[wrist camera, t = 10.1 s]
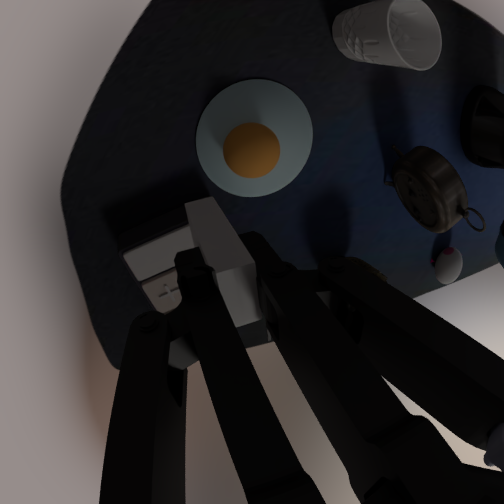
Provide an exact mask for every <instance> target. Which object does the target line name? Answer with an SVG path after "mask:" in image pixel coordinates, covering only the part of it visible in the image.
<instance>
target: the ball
mask: <svg viewBox="0 0 504 504" xmlns="http://www.w3.org/2000/svg"><path fill="white" fill-rule="evenodd" d="M223 156H224V159H225V162H226V164H227V165H228V167H229V168H230V169H231V170H232V171H233V172H234V173H236V174H237V175H239V176H241V177H245V178H258V177H262V176H264V175H266V174H268V173H269V172H270V171H271V170H273V168H274V167H275V166H276V164H277V162H278V160H279V157H280V144H279V141H278V138H277V136H276V135H275V134H274V132H273V131H272V130H271V129H269V128H268V127H267V126H265V125H262V124H259V123H254V122H250V123H244V124H241V125H239V126H237V127H235V128H234V129H233V130H231V131H230V133H229V134H228V135H227V137H226V139H225V141H224V145H223Z"/></svg>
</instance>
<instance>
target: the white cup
mask: <svg viewBox="0 0 504 504" xmlns="http://www.w3.org/2000/svg"><path fill="white" fill-rule="evenodd" d="M332 35H333V40H334V42H335V44H336V46H337V48H338V50H339V51H341V52H342V53H343V54H344V55H345V56H346V57H347V58H350V59H352V60H355V61H360V62H369V63H374V64H382V65H388V66H395V67H403V68H409V69H415V70H427V69H429V68H431V67H432V66H433V65H434V64H435V63H436V62H437V60H438V58H439V56H440V52H441V46H442V38H441V31H440V27H439V24H438V22H437V19H436V17H435V15H434V14H433V12H432V11H431V9H430V8H429V7H428V6H427V5H426V4H425V3H424V2H423V1H422V0H376V1H372V2H369V3H366V4H362V5H359V6H356V7H354V8H350V9H347V10H344V11H342V12H341V13H340V14H338V15H337V16H336V17H335V20H334V22H333V25H332Z"/></svg>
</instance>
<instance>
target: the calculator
mask: <svg viewBox="0 0 504 504" xmlns="http://www.w3.org/2000/svg"><path fill="white" fill-rule="evenodd" d="M208 197H210V196H205V197H203V198H200V199H204V198H208ZM200 199H198V200H200ZM195 201H196V200H195ZM191 248H195V247H194V243H193V239H192V235H191V230H190V226H189V222H188V217H187V213H186V208H185V205H183V206H181V207H179V208H176V209H174V210H172V211H170V212H167V213H165V214H163V215H160V216H158V217H156V218H154V219H151V220H149V221H147V222H145V223H143V224H140V225H138V226H136V227H134V228H132V229H129V230H127V231H125V232H123V233H121V234H120V235H119V236H118V255H119V257H120V258H121V260H122V262H123V263H124V265H125V266H126V268H127V270H128V271H129V273H130V275H131V276H132V278H133V279H134V281H135V282H136V284H137V286H138V287H139V289H140V290H141V292H142V293H143V295H144V296H145V298H146V299H147V301H148V302H149V304H150V305H151V307H152V308H153V310H154V311H159V312H161V313H164V315H166V314H167V313H169V312H171V311H172V310H174V309H175V308H176V307H177V306H178V305H179V304H180V302H181V300H182V296H181V293H180V290H179V287H178V284H177V271H176V267H175V263H174V258H175V256H176V253H177V252H180V251H184V250H187V249H191Z"/></svg>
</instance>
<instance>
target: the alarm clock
mask: <svg viewBox="0 0 504 504" xmlns="http://www.w3.org/2000/svg"><path fill="white" fill-rule="evenodd" d="M391 148H392V149H394V150H395V152H396V153H397V155H398V156H399V157H400V159H398V160H397V161H396V162H395V164H394V166H393V169H392V179H393V182H389V181H386V182H384V184H385V185H389V186H393V187H394V188H395V189H396V192H397V194H398V196H399V198H400V200H401V202H402V203H403V205H404V206H405V208H406V209H407V211H408V212H409V213H410V215H411V216H412V217H413V218H414V219H415V220H416V221H417V222H418V223H419V224H420V225H421V226H423V227H424V228H426V229H427V230H429V231H431V232H434V233H444V232H446V231H448V230H449V229H450V228H451V227H452V226H453V225H455V224H456V223H457V222H458V221H459V220H460V219H461V218H465V219H466V221H467V223H468V224H469V225H470V226H471V227H472V228H473V229H474V230H476V231H478V232H483V231H485V229H486V223H485V221H484V219H483V217H482V216H481V214H480V213H479V212H478V211H476V210H475V209H473V208H469V207H468V198H467V193H466V190H465V187H464V184H463V182H462V180H461V178H460V176H459V174H458V173H457V171H456V170H455V169H454V167H453V166H452V165H451V164H450V163H449V162H448V160H446V159H445V158H444V157H443V156H442V155H441V154H439V153H438V152H437V151H435V150H433V149H431V148H428V147H425V146H417V147H415V148H413V149H412V150H411V151H410V152H408V153H407V154H406V155H404V154H403V153H402V152H401V151H400V150H398V149H397V148H396V146H395V145H392V147H391ZM467 210H471V211H473V212H475V213H476V214H477V215H478V216H479V217H480V219H481V220H482V222H483V229H477V228H475V227H474V226H473V225H472V224H471V223H470V222H469V220H468V219H467V218H468V217H469V212H468V211H467Z"/></svg>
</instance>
